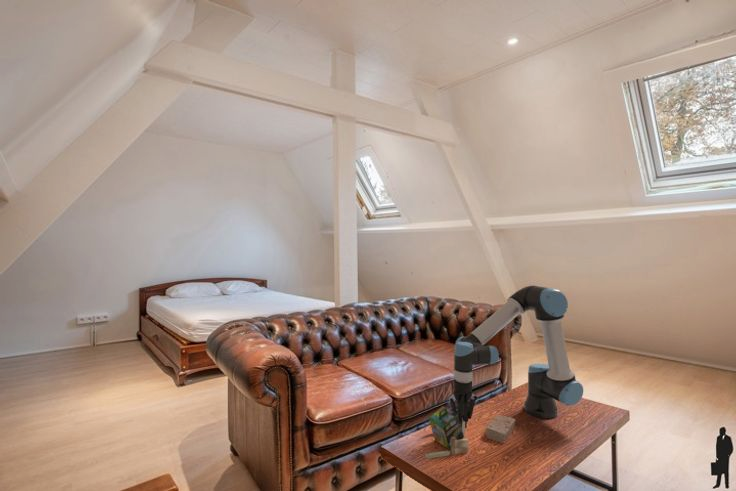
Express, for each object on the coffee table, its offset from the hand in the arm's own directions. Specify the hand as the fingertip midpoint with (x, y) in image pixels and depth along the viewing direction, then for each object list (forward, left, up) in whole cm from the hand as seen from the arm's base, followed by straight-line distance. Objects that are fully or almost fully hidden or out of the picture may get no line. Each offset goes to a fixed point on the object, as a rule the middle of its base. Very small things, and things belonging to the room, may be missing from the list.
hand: (461, 435), depth 155 cm
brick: (-20, -2, -3) cm, 21 cm away
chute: (+5, 0, -2) cm, 6 cm away
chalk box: (+6, 0, -1) cm, 6 cm away
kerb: (+15, +8, -2) cm, 17 cm away
